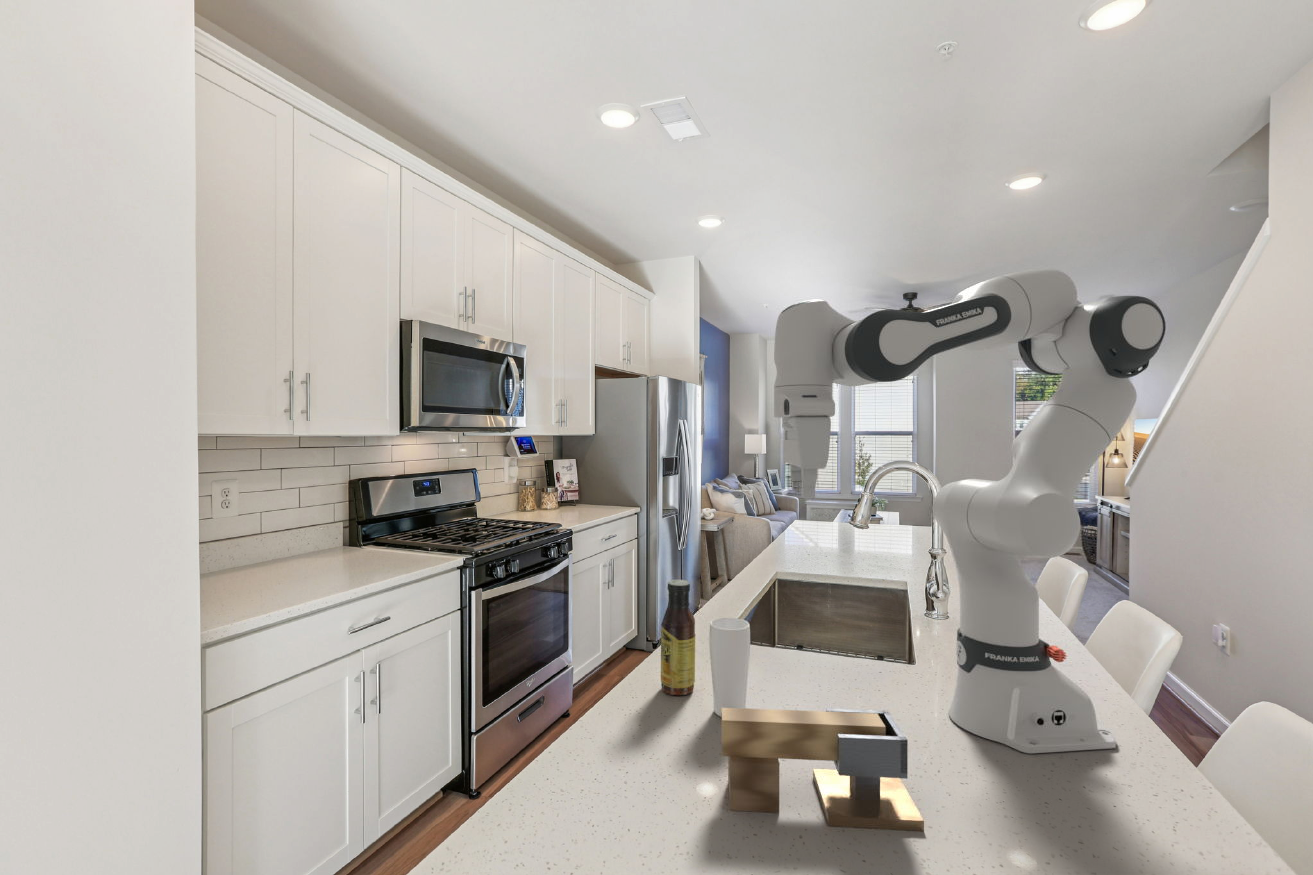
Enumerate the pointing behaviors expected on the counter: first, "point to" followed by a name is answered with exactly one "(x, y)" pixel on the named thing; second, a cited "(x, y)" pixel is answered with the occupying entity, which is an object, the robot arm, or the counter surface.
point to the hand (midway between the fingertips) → (802, 495)
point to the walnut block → (753, 784)
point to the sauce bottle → (678, 641)
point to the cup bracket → (869, 781)
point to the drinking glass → (729, 662)
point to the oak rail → (792, 732)
